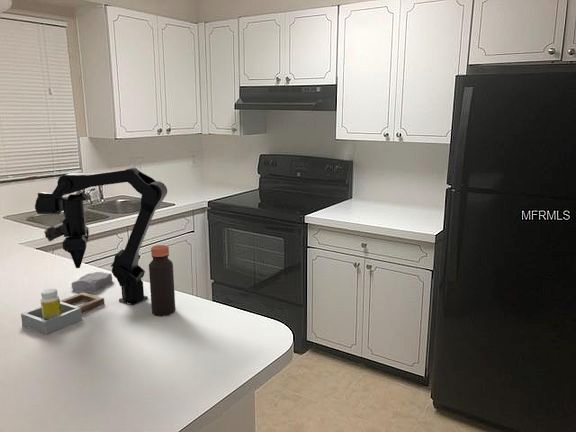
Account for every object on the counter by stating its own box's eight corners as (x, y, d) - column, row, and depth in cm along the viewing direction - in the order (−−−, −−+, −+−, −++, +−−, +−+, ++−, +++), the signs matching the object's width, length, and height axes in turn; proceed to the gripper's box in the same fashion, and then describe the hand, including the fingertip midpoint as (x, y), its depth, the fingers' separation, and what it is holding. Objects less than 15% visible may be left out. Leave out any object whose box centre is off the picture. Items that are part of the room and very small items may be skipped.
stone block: (70, 297, 158) (96, 293, 156) (66, 283, 157) (93, 279, 155) (90, 285, 169) (115, 281, 168) (87, 272, 169) (112, 268, 167)
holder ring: (104, 304, 147) (103, 298, 146) (76, 316, 138) (75, 309, 138) (83, 298, 152) (82, 292, 151) (54, 309, 143) (53, 302, 143)
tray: (82, 319, 136) (81, 307, 136) (46, 334, 127) (45, 322, 126) (58, 311, 142) (57, 300, 141) (22, 325, 132) (20, 313, 132)
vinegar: (147, 312, 141) (143, 247, 137) (167, 305, 146) (163, 242, 142) (160, 318, 137) (155, 252, 132) (180, 311, 141) (176, 247, 137)
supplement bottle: (64, 318, 134) (61, 290, 132) (46, 324, 131) (43, 295, 129) (57, 314, 137) (54, 286, 136) (40, 319, 134) (36, 291, 132)
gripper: (48, 210, 150) (53, 257, 154) (40, 223, 133) (46, 276, 137) (86, 208, 154) (91, 254, 157) (83, 220, 137) (88, 271, 140)
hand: (79, 263), depth 148 cm, fingers open, 9 cm apart
